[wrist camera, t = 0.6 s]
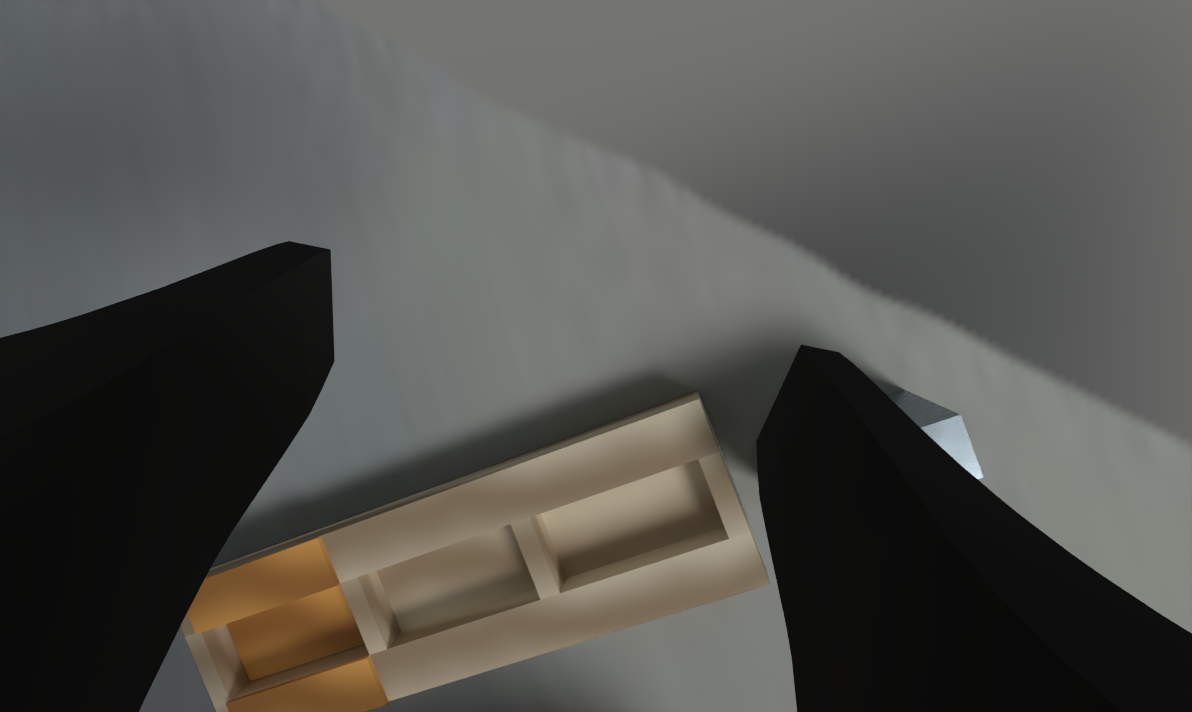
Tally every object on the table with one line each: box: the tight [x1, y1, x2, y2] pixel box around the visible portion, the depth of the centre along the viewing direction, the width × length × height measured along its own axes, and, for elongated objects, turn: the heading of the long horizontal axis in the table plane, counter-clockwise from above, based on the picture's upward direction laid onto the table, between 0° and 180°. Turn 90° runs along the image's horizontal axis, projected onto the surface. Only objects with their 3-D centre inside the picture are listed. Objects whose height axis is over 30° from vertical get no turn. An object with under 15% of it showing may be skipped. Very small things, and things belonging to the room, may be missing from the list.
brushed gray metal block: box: [888, 390, 983, 479], centre depth 28 cm, size 2×7×6 cm, turn 111°
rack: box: [180, 391, 770, 712], centre depth 33 cm, size 9×29×3 cm, turn 112°
